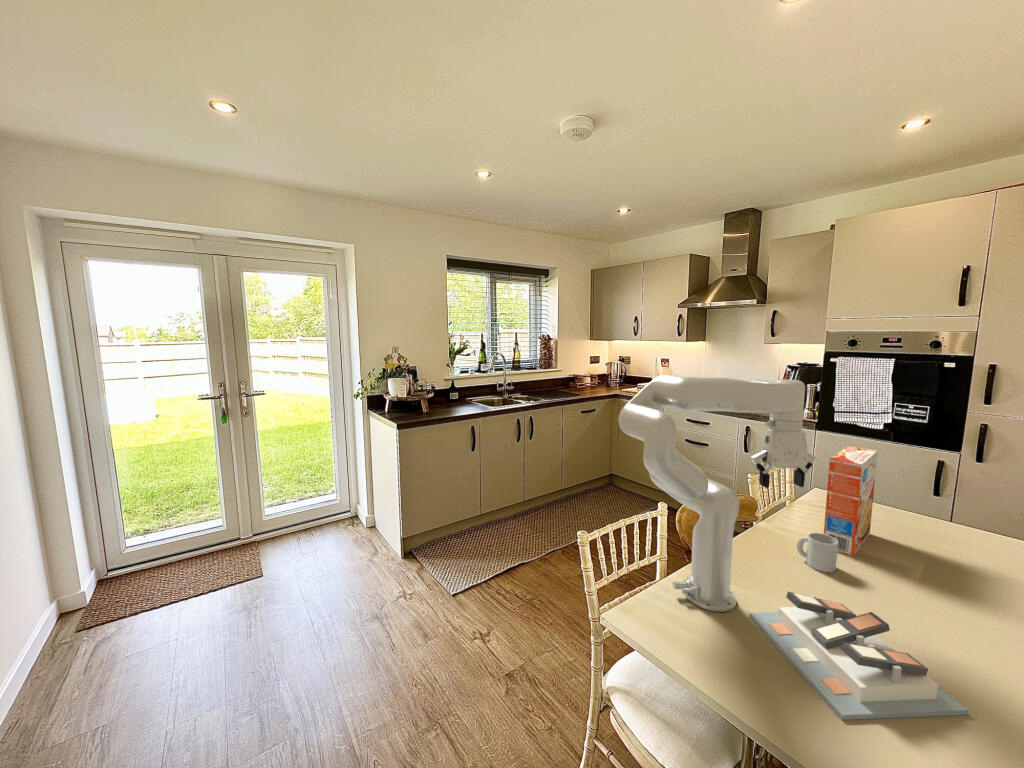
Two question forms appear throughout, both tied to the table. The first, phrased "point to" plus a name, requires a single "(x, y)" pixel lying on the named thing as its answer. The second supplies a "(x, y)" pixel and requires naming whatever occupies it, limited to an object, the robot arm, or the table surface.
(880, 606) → the table surface
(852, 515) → the orange cereal box
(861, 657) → the rocker
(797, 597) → the rocker
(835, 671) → the switch unit
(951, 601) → the table surface
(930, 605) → the table surface
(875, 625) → the rocker
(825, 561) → the cup
